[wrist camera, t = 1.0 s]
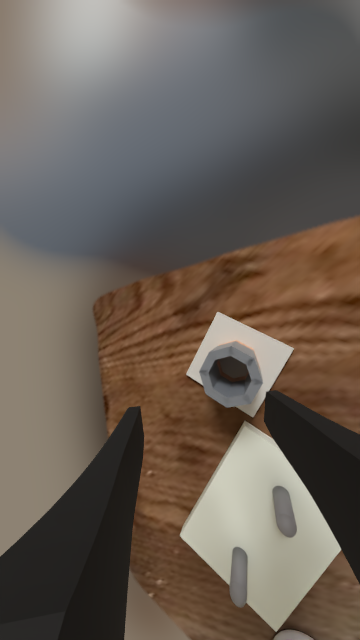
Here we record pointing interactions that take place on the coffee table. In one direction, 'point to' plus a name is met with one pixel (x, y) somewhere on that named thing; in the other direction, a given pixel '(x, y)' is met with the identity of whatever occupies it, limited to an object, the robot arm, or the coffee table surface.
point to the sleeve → (227, 387)
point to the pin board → (260, 528)
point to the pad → (266, 351)
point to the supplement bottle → (292, 635)
